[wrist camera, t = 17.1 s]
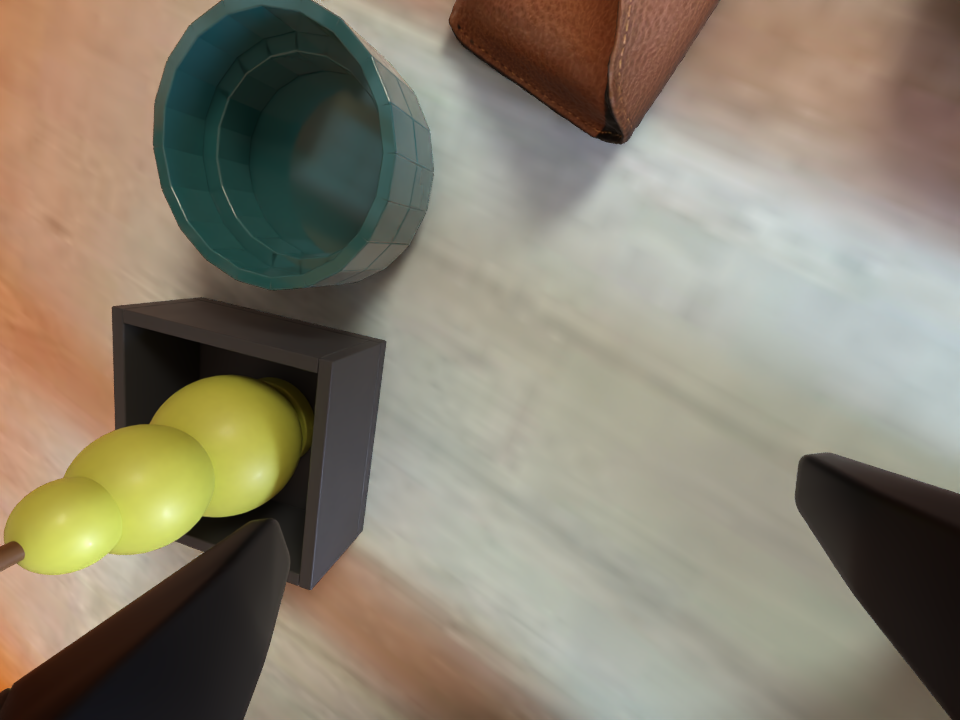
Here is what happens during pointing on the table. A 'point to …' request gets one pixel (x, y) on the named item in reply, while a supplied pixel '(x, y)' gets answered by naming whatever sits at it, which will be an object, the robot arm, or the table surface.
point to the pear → (164, 475)
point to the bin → (258, 354)
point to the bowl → (290, 146)
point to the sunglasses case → (584, 52)
